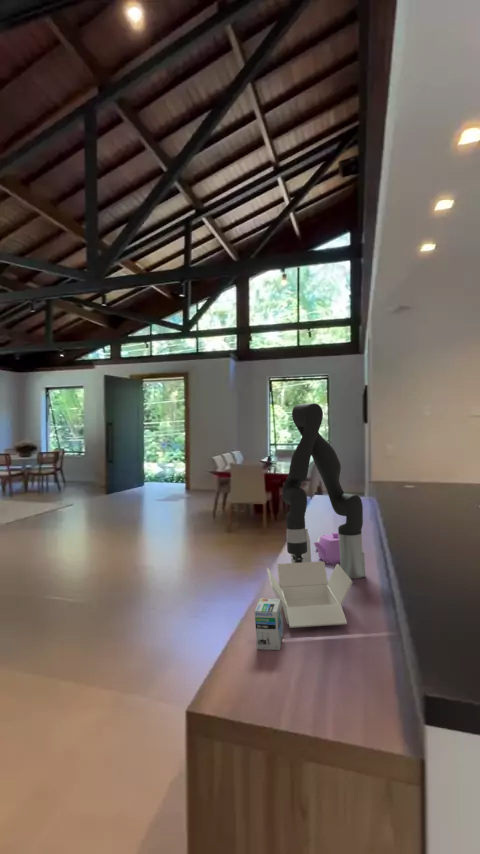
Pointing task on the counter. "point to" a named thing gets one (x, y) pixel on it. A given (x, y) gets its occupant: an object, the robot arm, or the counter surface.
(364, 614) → the counter surface
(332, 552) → the teakettle
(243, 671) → the counter surface
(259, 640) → the light bulb box
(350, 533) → the robot arm
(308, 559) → the milk carton
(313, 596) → the carton
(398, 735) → the counter surface
